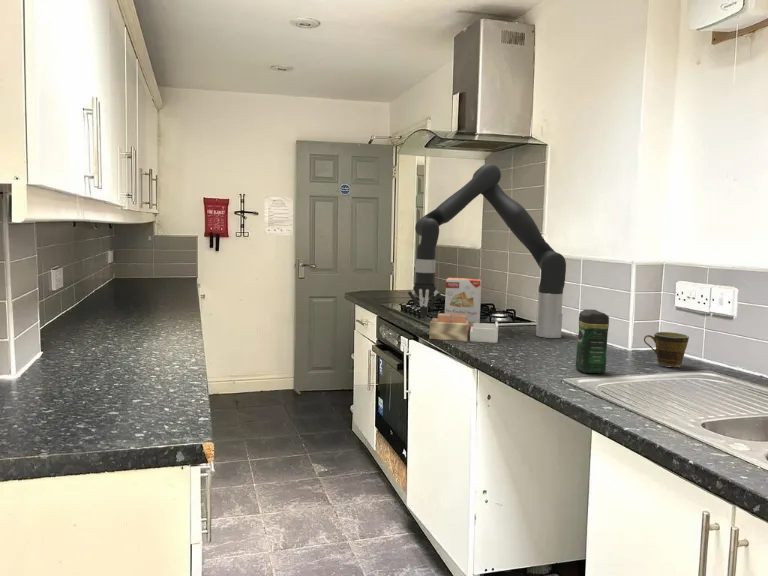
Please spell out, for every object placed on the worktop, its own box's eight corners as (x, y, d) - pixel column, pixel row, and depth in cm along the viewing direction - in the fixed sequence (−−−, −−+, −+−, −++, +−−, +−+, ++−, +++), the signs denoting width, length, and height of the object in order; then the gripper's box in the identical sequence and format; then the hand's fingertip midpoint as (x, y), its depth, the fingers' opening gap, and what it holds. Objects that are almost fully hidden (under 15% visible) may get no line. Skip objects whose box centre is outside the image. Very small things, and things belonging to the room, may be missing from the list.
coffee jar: (609, 375, 179) (613, 312, 177) (582, 374, 179) (586, 312, 177) (597, 367, 189) (601, 308, 187) (572, 366, 189) (576, 307, 187)
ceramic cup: (682, 363, 198) (685, 333, 197) (689, 370, 188) (692, 338, 187) (639, 360, 201) (642, 330, 200) (644, 366, 192) (646, 335, 190)
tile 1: (451, 320, 234) (451, 314, 234) (450, 322, 229) (451, 315, 229) (438, 319, 235) (438, 313, 235) (437, 321, 230) (437, 315, 230)
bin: (496, 336, 235) (497, 321, 235) (497, 342, 224) (498, 326, 223) (470, 335, 237) (471, 320, 236) (469, 341, 225) (470, 325, 225)
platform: (468, 335, 237) (468, 320, 237) (467, 341, 225) (467, 324, 225) (432, 333, 239) (432, 318, 239) (429, 338, 228) (429, 322, 227)
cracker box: (443, 329, 249) (445, 278, 247) (445, 326, 255) (447, 277, 253) (478, 331, 246) (480, 280, 243) (479, 329, 252) (481, 278, 249)
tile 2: (465, 321, 233) (466, 314, 233) (465, 323, 228) (465, 316, 228) (452, 320, 234) (453, 314, 234) (452, 322, 229) (452, 316, 229)
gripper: (443, 271, 234) (441, 315, 236) (409, 269, 236) (407, 313, 238) (442, 272, 227) (439, 318, 229) (406, 271, 229) (405, 316, 231)
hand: (423, 316), depth 233 cm, fingers closed
